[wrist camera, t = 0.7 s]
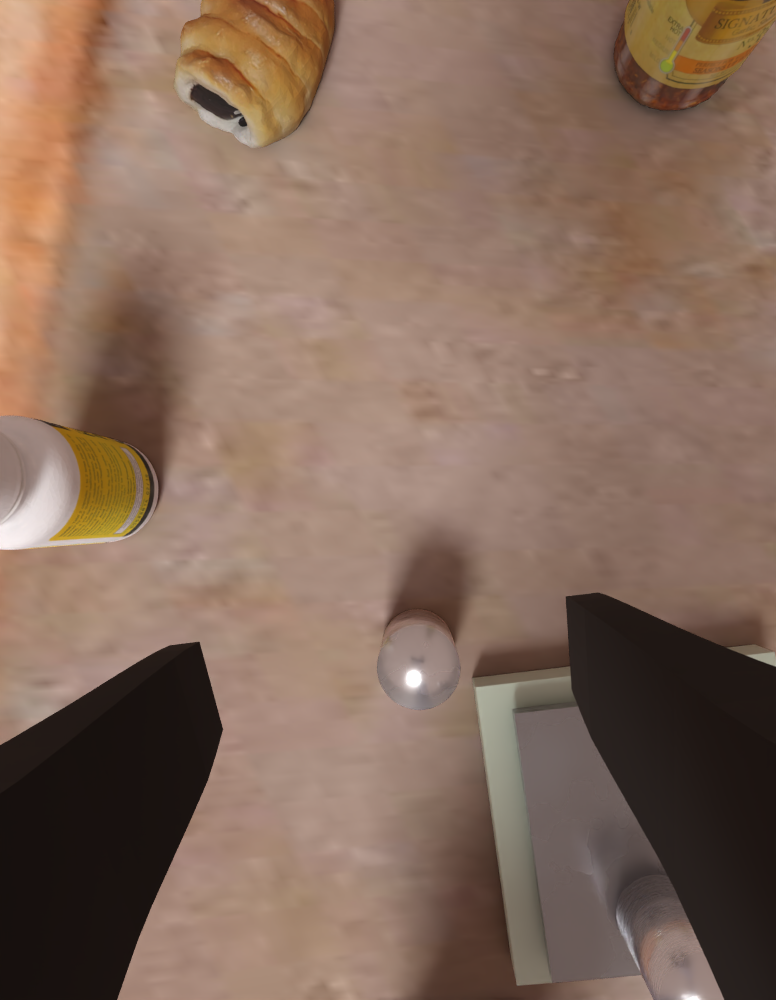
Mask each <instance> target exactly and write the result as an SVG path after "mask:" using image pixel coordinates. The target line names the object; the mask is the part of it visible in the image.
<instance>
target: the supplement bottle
mask: <svg viewBox="0 0 776 1000" xmlns="http://www.w3.org/2000/svg"><path fill="white" fill-rule="evenodd" d="M157 500H158V480H157V476H156V473H155V471H154V469H153V467H152V465H151V463H150V462H149V460H148V459H147V458H146V456H145V455H144V454H143V453H142V452H140V451H139V450H138V449H137V448H135V447H133V446H132V445H130V444H127V443H125V442H122V441H119V440H115V439H112V438H108V437H104V436H100V435H96V434H91V433H88V432H84V431H80V430H76V429H72V428H68V427H64V426H60V425H56V424H53V423H49V422H45V421H42V420H38V419H32V418H27V417H22V416H0V549H3V550H13V549H32V548H44V547H56V546H69V545H80V544H94V543H107V542H113V541H119V540H122V539H125V538H128V537H130V536H132V535H133V534H135V533H136V532H138V531H139V530H140V529H141V528H142V527H143V526H144V525H145V524H146V523H147V522H148V521H149V519H150V518H151V516H152V514H153V512H154V510H155V508H156V505H157Z"/></svg>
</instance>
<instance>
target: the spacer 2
mask: <svg viewBox="0 0 776 1000" xmlns="http://www.w3.org/2000/svg"><path fill="white" fill-rule="evenodd" d="M616 920H617V925H618V928H619V930H620V932H621V934H622V936H623V938H624V940H625V942H626V944H627V946H628V948H629V951H630V953H631V955H632V957H633V959H634V961H635V963H636V965H637V967H638V969H639V971H640V973H641V975H642V977H643V979H644V981H645V983H646V985H647V987H648V989H649V991H650V993H651V995H652V997H653V999H654V1000H724V998H723V996H722V994H721V991H720V989H719V987H718V984H717V982H716V980H715V977H714V975H713V973H712V971H711V968H710V966H709V964H708V962H707V959H706V957H705V955H704V953H703V951H702V948H701V946H700V944H699V942H698V940H697V937H696V935H695V933H694V931H693V929H692V926H691V924H690V922H689V920H688V918H687V915H686V913H685V911H684V909H683V907H682V904H681V902H680V900H679V898H678V896H677V893H676V891H675V889H674V887H673V885H672V883H671V881H670V880H669V878H668V876H666V875H660V874H650V875H645V876H642V877H639V878H637V879H635V880H634V881H632V882H631V883H630V884H628V885H627V886H626V887H625V889H624V890H623V891H622V893H621V895H620V897H619V899H618V902H617V907H616Z"/></svg>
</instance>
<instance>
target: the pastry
mask: <svg viewBox="0 0 776 1000" xmlns="http://www.w3.org/2000/svg"><path fill="white" fill-rule="evenodd" d="M200 10H201V17H199V18H198V19H195V20H192V21H188V22H186V23H185V25H184V27H183V29H182V32H181V37H180V38H181V57H179V59H178V61H177V64H176V70H175V78H174V88H175V90H176V92H177V94H178V96H179V98H180V100H181V101H183V102H184V103H185V104H187V105H189V106H190V107H191V108H192V109H193V110H194V111H197V112H198V113H199V116H200V118H201V119H202V120H203V121H205V122H206V123H207V124H209V125H210V126H212V127H215V128H218V129H220V130H222V131H226V132H230V133H233V135H234V136H235V138H236V139H237V140H238V141H240V142H241V143H243V144H245V145H247V146H249V147H250V148H261V147H265V146H267V145H269V144H271V143H273V142H276V141H279V140H281V139H283V138H285V137H286V136H288V135H289V134H291V133H292V132H293V131H294V130H296V129H297V127H298V126H299V124H300V122H301V120H302V119H303V117H304V115H305V114H306V112H307V111H309V110H310V107H311V104H312V101H313V98H314V96H315V94H316V91H317V88H318V85H319V83H320V80H321V77H322V73H323V70H324V66H325V63H326V59H327V56H328V52H329V49H330V45H331V41H332V38H333V34H334V27H335V19H334V0H202V2H201V9H200Z"/></svg>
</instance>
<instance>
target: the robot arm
mask: <svg viewBox="0 0 776 1000" xmlns="http://www.w3.org/2000/svg"><path fill="white" fill-rule="evenodd" d="M566 608H567V624H568V640H569V656H570V673H571V689H572V692H573V695H574V697H575V700H576V702H577V705H578V707H579V710H580V713H581V715H582V718H583V720H584V722H585V725H586V727H587V729H588V732H589V734H590V737H591V739H592V741H593V742H594V744H595V746H596V748H597V750H598V752H599V753H600V755H601V757H602V759H603V761H604V762H605V764H606V766H607V768H608V770H609V771H610V773H611V775H612V777H613V779H614V780H615V782H616V784H617V786H618V787H619V789H620V791H621V793H622V794H623V796H624V798H625V800H626V802H627V803H628V805H629V807H630V809H631V810H632V812H633V814H634V816H635V817H636V819H637V821H638V823H639V825H640V826H641V828H642V830H643V832H644V833H645V835H646V837H647V839H648V841H649V842H650V844H651V846H652V848H653V849H654V851H655V853H656V855H657V856H658V858H659V860H660V862H661V864H662V866H663V868H664V870H665V872H666V874H667V876H668V878H669V880H670V881H671V883H672V885H673V887H674V889H675V891H676V893H677V896H678V898H679V900H680V902H681V904H682V907H683V909H684V911H685V913H686V915H687V918H688V920H689V922H690V924H691V926H692V929H693V931H694V933H695V935H696V937H697V940H698V942H699V944H700V946H701V948H702V951H703V953H704V955H705V957H706V959H707V962H708V964H709V966H710V968H711V971H712V973H713V975H714V977H715V980H716V982H717V984H718V987H719V989H720V991H721V994H722V996H723V998H724V1000H776V666H773V665H770V664H767V663H764V662H762V661H759V660H756V659H754V658H751V657H749V656H746V655H744V654H741V653H738V652H736V651H733V650H731V649H728V648H726V647H723V646H720V645H718V644H716V643H713V642H711V641H708V640H706V639H704V638H701V637H699V636H697V635H694V634H692V633H690V632H687V631H685V630H683V629H681V628H678V627H676V626H674V625H672V624H669V623H667V622H665V621H663V620H661V619H658V618H656V617H654V616H652V615H650V614H648V613H645V612H643V611H641V610H639V609H637V608H635V607H632V606H630V605H628V604H626V603H624V602H621V601H619V600H617V599H614V598H612V597H610V596H607V595H604V594H601V593H591V594H583V595H575V596H567V597H566ZM222 731H223V728H222V724H221V720H220V717H219V713H218V709H217V706H216V702H215V698H214V694H213V691H212V687H211V683H210V679H209V676H208V672H207V668H206V664H205V661H204V657H203V653H202V650H201V646H200V642H194V643H186V644H178V645H170V646H168V647H165V648H163V649H161V650H159V651H157V652H155V653H153V654H151V655H150V656H148V657H146V658H144V659H143V660H141V661H139V662H137V663H136V664H134V665H132V666H131V667H129V668H128V669H126V670H124V671H123V672H121V673H119V674H118V675H116V676H115V677H113V678H111V679H110V680H108V681H107V682H105V683H103V684H102V685H100V686H99V687H97V688H95V689H94V690H92V691H91V692H89V693H87V694H86V695H84V696H83V697H81V698H79V699H78V700H76V701H75V702H73V703H71V704H70V705H68V706H66V707H65V708H63V709H61V710H60V711H58V712H56V713H54V714H53V715H51V716H49V717H48V718H46V719H44V720H43V721H41V722H39V723H38V724H36V725H34V726H32V727H31V728H29V729H27V730H26V731H24V732H22V733H21V734H19V735H17V736H16V737H14V738H12V739H10V740H9V741H7V742H5V743H3V744H2V745H0V1000H117V998H118V995H119V992H120V990H121V987H122V984H123V981H124V978H125V975H126V973H127V970H128V967H129V964H130V961H131V958H132V955H133V953H134V950H135V947H136V944H137V941H138V938H139V936H140V933H141V931H142V929H143V926H144V924H145V921H146V919H147V916H148V914H149V911H150V909H151V907H152V904H153V902H154V900H155V898H156V895H157V893H158V891H159V889H160V887H161V884H162V882H163V880H164V878H165V875H166V873H167V871H168V869H169V867H170V864H171V862H172V860H173V858H174V855H175V853H176V851H177V849H178V847H179V844H180V842H181V840H182V838H183V836H184V833H185V831H186V829H187V827H188V824H189V822H190V820H191V818H192V815H193V813H194V811H195V809H196V806H197V804H198V802H199V800H200V797H201V795H202V793H203V790H204V788H205V786H206V783H207V781H208V778H209V775H210V772H211V769H212V766H213V762H214V759H215V756H216V752H217V749H218V745H219V742H220V738H221V734H222Z"/></svg>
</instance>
